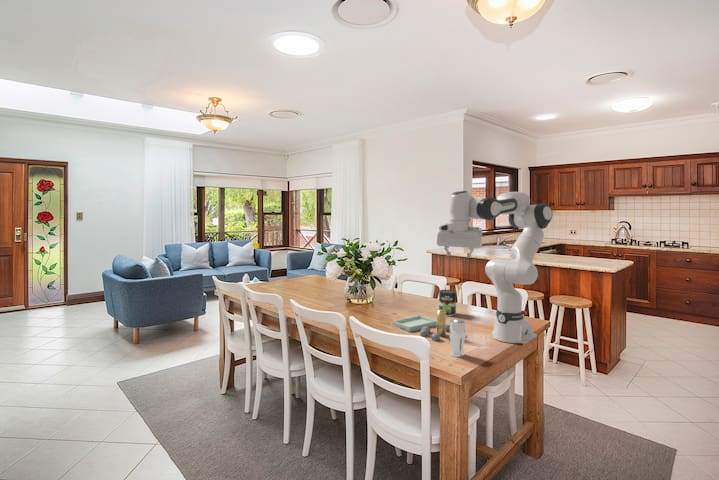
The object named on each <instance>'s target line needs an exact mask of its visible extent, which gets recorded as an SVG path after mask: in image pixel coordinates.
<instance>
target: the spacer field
mask: <svg viewBox="0 0 719 480" xmlns="http://www.w3.org/2000/svg"><path fill="white" fill-rule="evenodd" d="M449 327H450V324H446V333H447V332H448V333H449ZM419 332H420V337H426V338H427V337H429V334H431V327H427V326H424V327H422V329H421V330H419ZM448 337H449V342H450V343H451V341H450V334H449V335H448ZM431 341H432V342H433V341H434V342H440V341H441V337H440V334H437V332H436V333H432V334H431Z"/></svg>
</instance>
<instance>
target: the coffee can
mask: <svg viewBox="0 0 719 480" xmlns="http://www.w3.org/2000/svg"><path fill="white" fill-rule="evenodd" d="M438 296H439V297H438V309H444V310H446V317H454V316H453V315H455V316H456V315H457V313H456V311H457V310H456V309H457V308H456V307H457V291H456V290H453V289H439V290H438Z"/></svg>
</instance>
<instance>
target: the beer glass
mask: <svg viewBox="0 0 719 480" xmlns="http://www.w3.org/2000/svg"><path fill="white" fill-rule="evenodd" d="M449 325H450V327H449V332H448V334H449V335H450V341H451V342H450V341H449V342H450V352H449V355H450V356H451V357H455V358H462V357H464V356H465V350H464V345H465V339H466V331H467V329H466V321H465V320H463V319H461V318H460V319H457V318H453V319H450V320H449Z"/></svg>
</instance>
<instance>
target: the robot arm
mask: <svg viewBox="0 0 719 480" xmlns="http://www.w3.org/2000/svg"><path fill="white" fill-rule="evenodd" d="M449 214H450V215H449V221H448V223H445V224H442V225H439V227H438V230H439V231H438V233H437V236H436V245H437V247H444V248H443V250H444V251H445V252H446V257H451V256H452V251H449V247H453V248H469V252H466V253H467V254H466V257H467V258H472V254H473V252H474V251H475V249H480V248H481V247H482V246H483V239H482V236H483V230H482V228H480V227H478V226H475V227H474V226H470V220H486V221H492V220H495V219H496V218H497V217H499V216H500V215H508V222H509V224H510V225H511V227H513V228H515V229H522V228H523V229H522V232H521V233H520V235H519V236H518V238H517V239H516V240H515V242H514V243H513V245H512V247H511V249H510V253H511V256H512V258H513V259H503V258H496V259H489V260H488V262H487V263H486V265H485V269H484V271H485V274H486V276H487V277H488V278H489V280H491V282H492V284H493V285H494V288H495V291H496V294H497V295H496V296H497V308H496V312H495V313H496V315H495V316H496V317H495V319H494V323H493V330H492V331H491V335H492V337H493V338H494V339H495V340H496V341H499V342H503V343H508V344H509V343H510V344H525V345H526V344H528V343H529V342H531V341H533V340H535V339H536V338H538V336H537V334H536V333H534V332H532V324H531V323H530V322H528V321H527V320H526V319H525V318H524V316H527V314H528V313H527V311H526V310H523V308H522V307H523V306H522V304H523V297H522V295H521V294H522V293H520V292H519V291H518V290H516V288H515V287H514V285H521V286H522V285H523V286H524V285H533V284H534V283H535V282H536V281H537V279H538V277H539V271H538V268H537V266H536V265H535V264H534V262H533V261H534V258H535V256H536V254H537V252H538V251H539V249H540V247H541V246H542V242H543V240H544V236H545V235H544V234H545V233H544V231H543V229H546V228H547V227H548V226H549V224H550V223H551V221H552V219H553V210H552V208H551V206H550V205H548V204H546V203H538V204H531V198H530V197H529V195H528V194H527V193H525V192H522V191H508V192H504V193H500V194H499V195H498V196H497V197H496V198H495V197H492V196H490V197H480V198H479V197H478V198H477V197H473V196H472V195H471V194H469V191H467V190H460V191H454V192H453V193H451V195H450V198H449Z"/></svg>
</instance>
